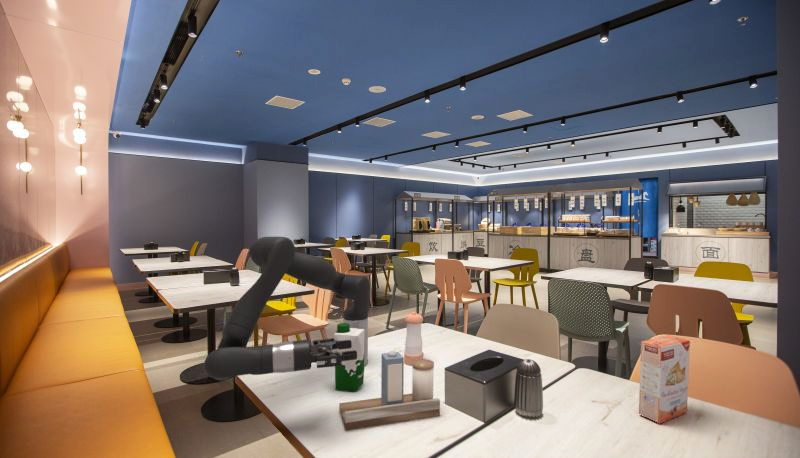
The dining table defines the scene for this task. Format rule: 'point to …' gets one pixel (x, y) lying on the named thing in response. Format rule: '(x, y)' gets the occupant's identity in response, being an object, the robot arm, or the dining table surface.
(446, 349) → the dining table surface
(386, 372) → the tea tin
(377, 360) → the dining table surface
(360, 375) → the milk carton
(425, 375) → the jar
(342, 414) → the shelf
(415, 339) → the salt shaker
